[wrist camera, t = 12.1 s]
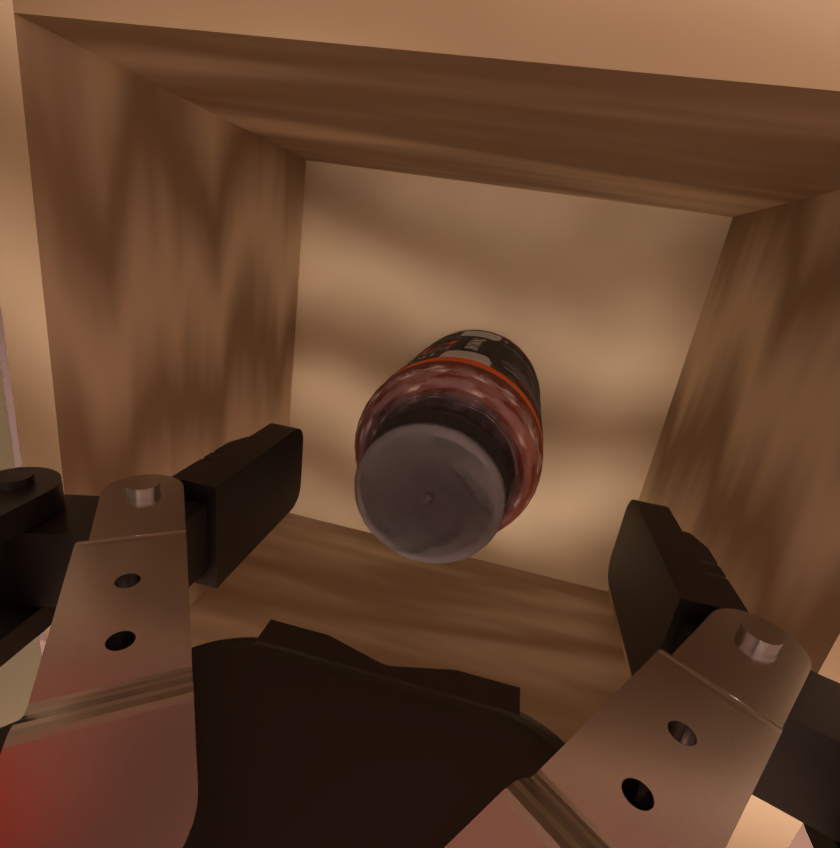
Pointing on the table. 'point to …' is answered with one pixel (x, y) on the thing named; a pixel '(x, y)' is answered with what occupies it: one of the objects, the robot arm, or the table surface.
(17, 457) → the table surface
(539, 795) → the robot arm
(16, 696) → the bread box lid
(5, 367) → the table surface
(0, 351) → the table surface
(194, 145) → the bread box
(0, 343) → the table surface
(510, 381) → the supplement bottle
